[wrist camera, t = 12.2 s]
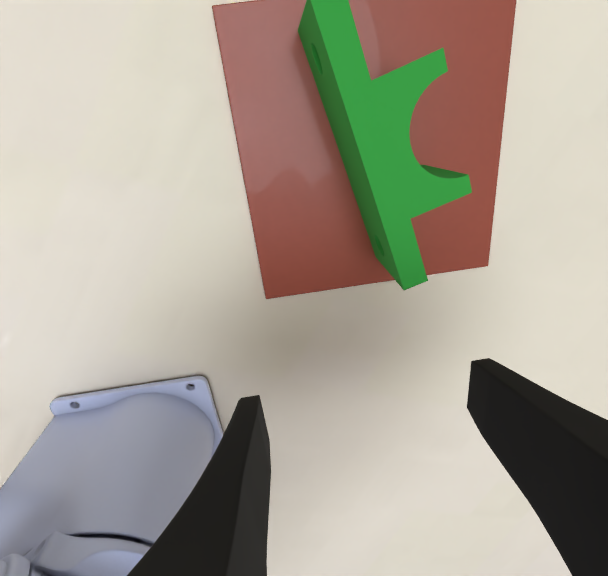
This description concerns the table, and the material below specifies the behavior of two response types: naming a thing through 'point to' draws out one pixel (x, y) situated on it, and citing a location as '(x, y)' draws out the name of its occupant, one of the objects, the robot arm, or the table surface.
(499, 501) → the table surface
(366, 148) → the pipe clamp
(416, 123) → the napkin
